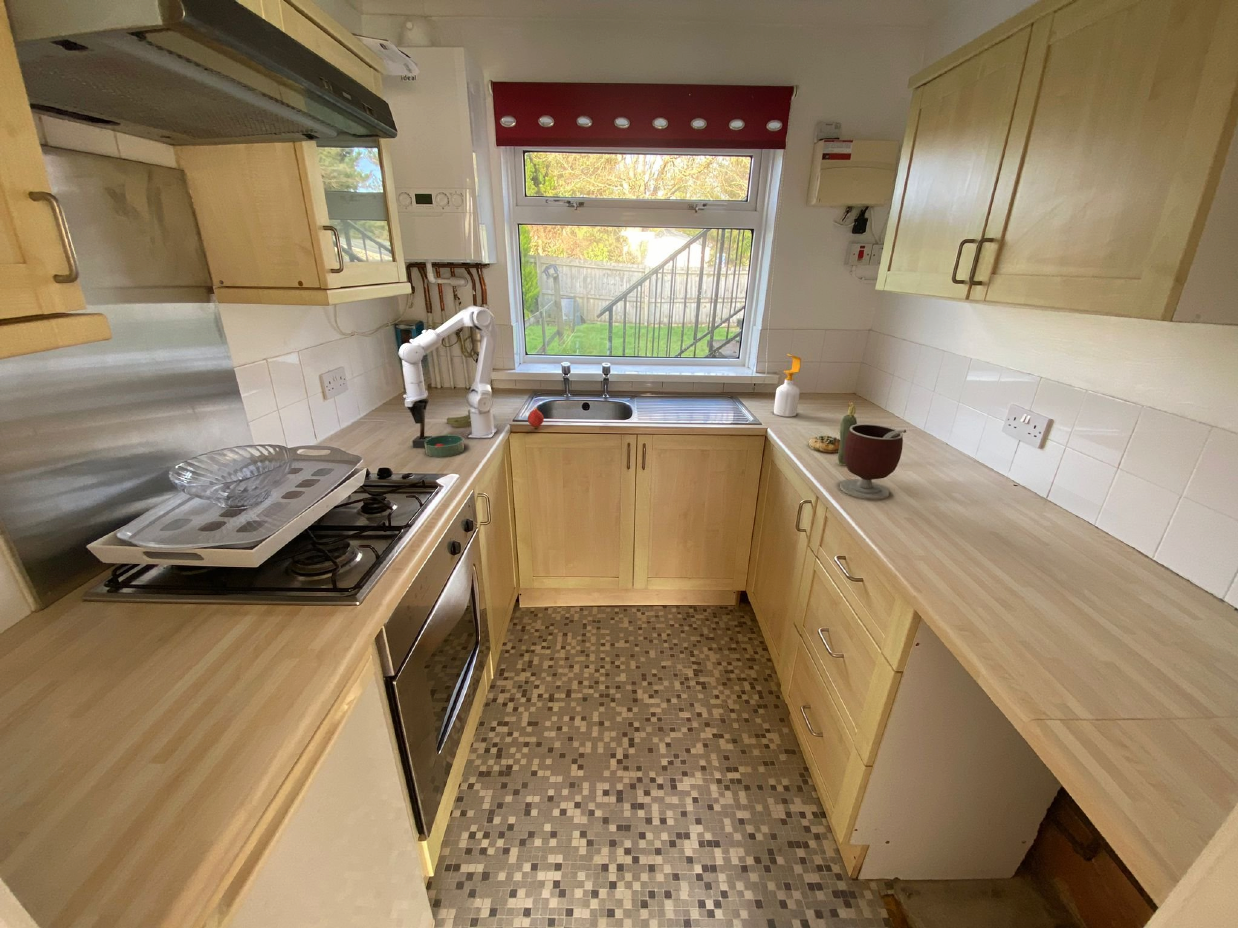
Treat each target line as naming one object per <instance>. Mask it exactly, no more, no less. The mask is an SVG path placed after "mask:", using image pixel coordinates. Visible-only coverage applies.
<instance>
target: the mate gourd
mask: <svg viewBox="0 0 1238 928" xmlns="http://www.w3.org/2000/svg"><path fill="white" fill-rule="evenodd" d="M906 433H907V430H906V429H896V428H892V427H890V426H885V425H882V424H881V425H880V424H874V423H873V424H872V423H857V425H853V426H851V427H850V430H849V432H848V434H847V437H846V440H845V444H844V453H843V457H844V463H845V464H844V465H845V467H846V469H847V471H849V473H850V474H853V475H854V476H857V477H858V478H859V479H858V478H850V479H844V480H842V481H841V482H840V484H839V488H840V490H841V491H842V492H844V493H845V494H847V495H849V496H852V497H855V498H859V499H862V500H863V499H864V500H873V501H874V500H875V501H877V500H878V501H879V500H884V499H886V498H888V497H889V494H890V490H889V489H888V488H887V487H886V486H884V485H882V484H880V483H878V482H874V481H872V480H881V479H885V478H887V477H889V476H890V475H891V474H892V473H894V472H895V470H896V468H897V467H898V465H899V462H900V459H901V457H902V452H903V447H904V446H903V445H904V444H903V443H904V438H903V437H904V434H906Z"/></svg>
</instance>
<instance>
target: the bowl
mask: <svg viewBox="0 0 1238 928" xmlns="http://www.w3.org/2000/svg"><path fill="white" fill-rule="evenodd" d="M424 444H425V448H424V451H425V454H426V455H427V456H429V457H433V458H447V457H453V456H456V455H459V454H461V453H463V452H464V451H465V443H464V438H463V436H460V435H457V434H440V435H436V436H435V435H434V436H432V437H431V438H429V439H427V440H426V441H425V442H424ZM437 444H442V445H443V446H436V445H437Z"/></svg>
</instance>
